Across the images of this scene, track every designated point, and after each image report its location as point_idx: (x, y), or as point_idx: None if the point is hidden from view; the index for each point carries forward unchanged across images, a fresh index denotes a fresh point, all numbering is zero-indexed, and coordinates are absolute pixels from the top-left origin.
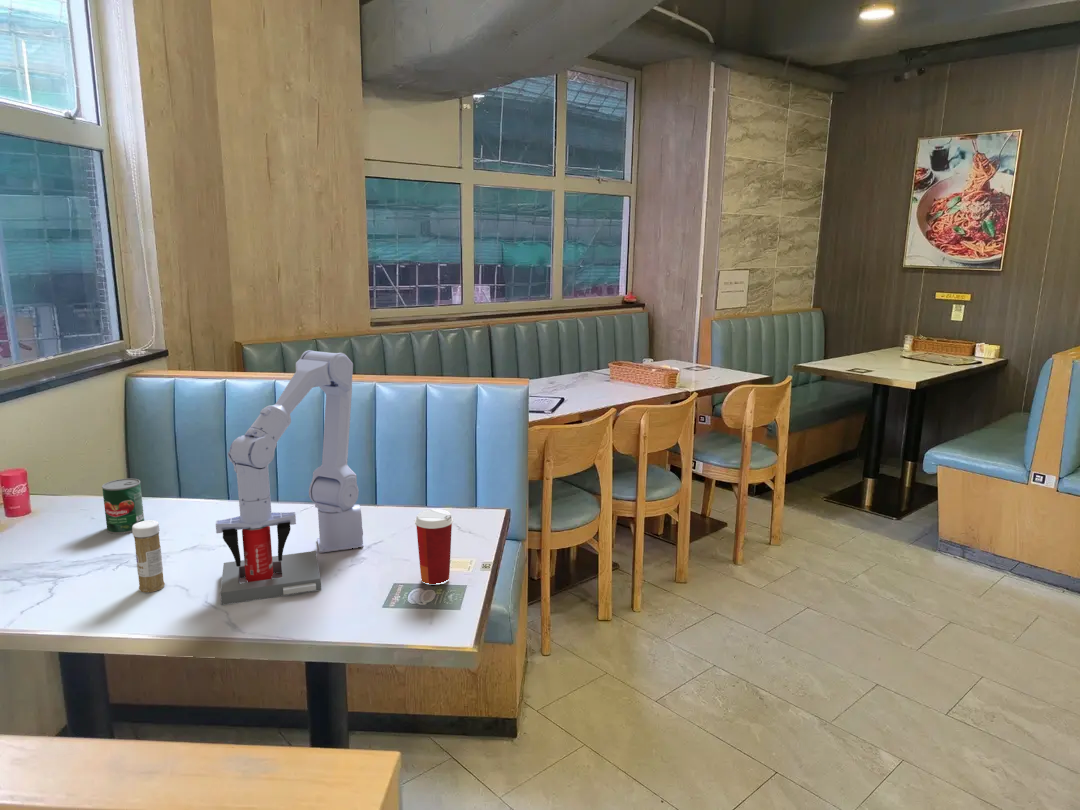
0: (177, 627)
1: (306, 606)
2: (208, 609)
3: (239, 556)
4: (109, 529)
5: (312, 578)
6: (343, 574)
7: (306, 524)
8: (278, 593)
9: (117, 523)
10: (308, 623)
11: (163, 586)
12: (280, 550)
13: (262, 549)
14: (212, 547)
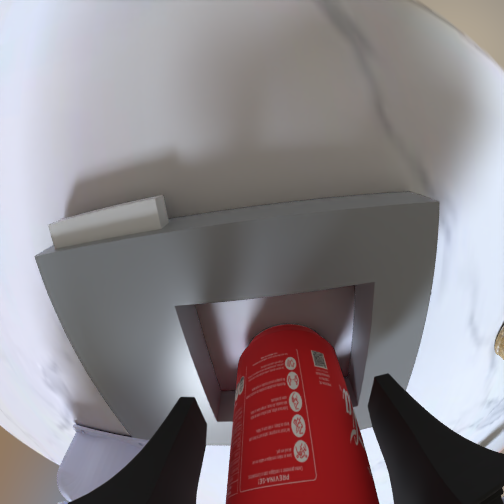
0: (486, 87)
1: (84, 119)
2: (442, 172)
3: (385, 419)
4: None
5: (55, 262)
6: (48, 328)
7: (217, 500)
8: (189, 218)
9: None
10: (84, 16)
11: (500, 333)
12: (164, 437)
13: (266, 457)
14: (380, 465)
